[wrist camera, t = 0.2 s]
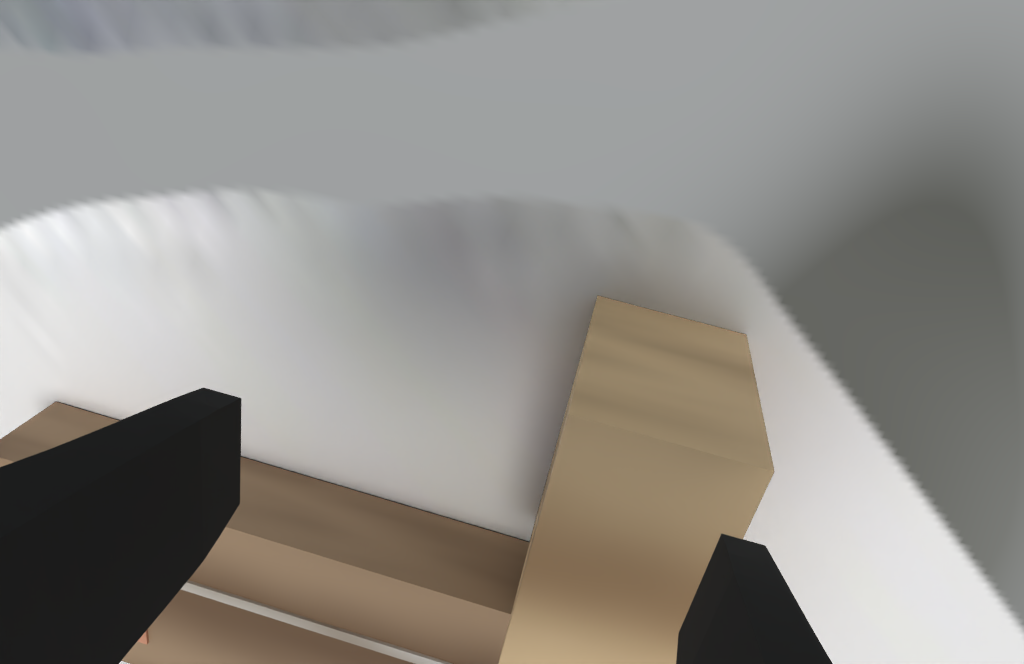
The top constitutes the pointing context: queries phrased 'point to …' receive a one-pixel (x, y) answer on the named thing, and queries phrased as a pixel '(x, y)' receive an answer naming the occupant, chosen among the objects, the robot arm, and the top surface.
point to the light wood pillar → (639, 489)
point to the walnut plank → (321, 574)
